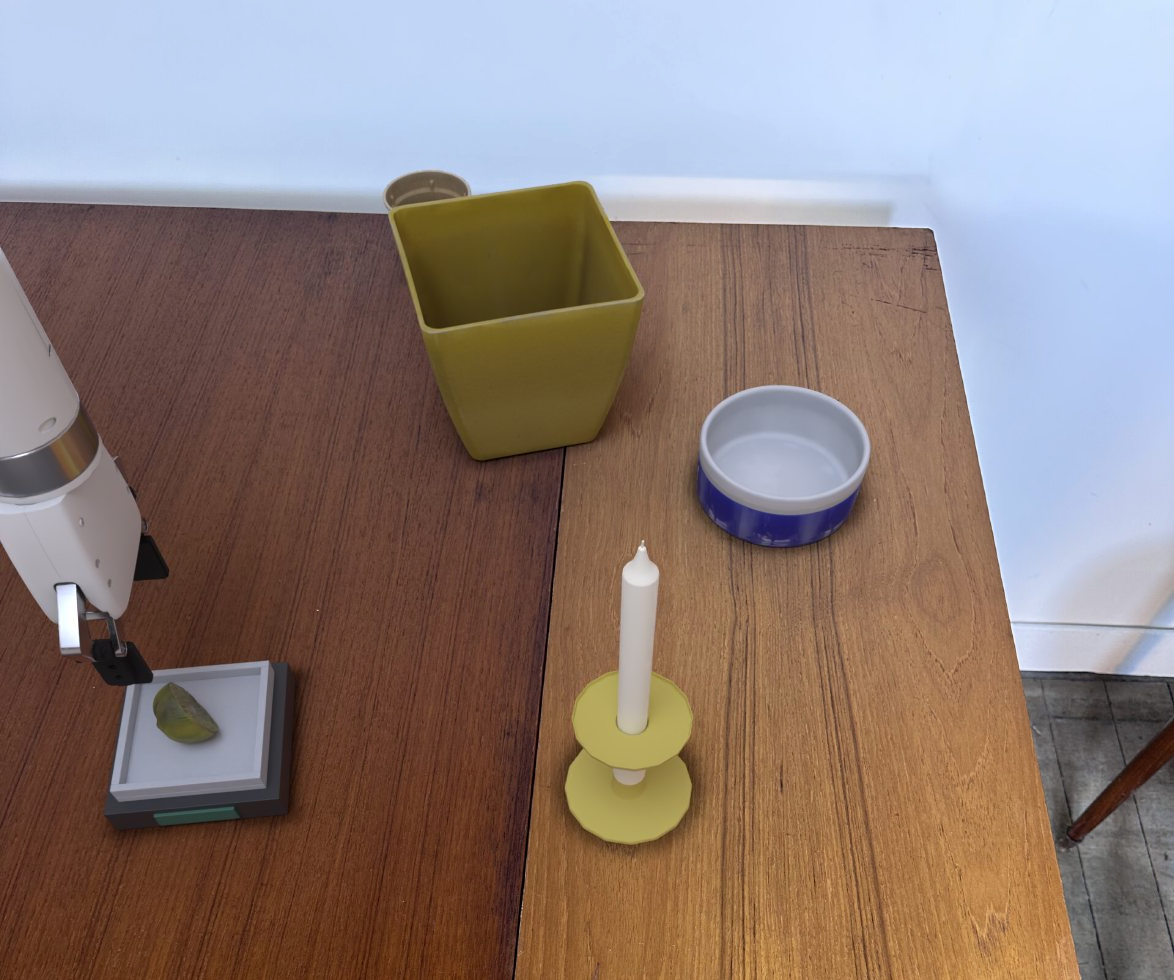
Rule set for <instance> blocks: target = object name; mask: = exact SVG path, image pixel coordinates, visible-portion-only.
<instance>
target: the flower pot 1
mask: <svg viewBox="0 0 1174 980" xmlns="http://www.w3.org/2000/svg"><path fill="white" fill-rule="evenodd" d="M465 196H472V189H471V185H470V184H469V182H468V181H466V179H464V178H463V177H461V176H460V175H458V174H455V173H453V172H448V171H445V170H441V169H421V170H414V171H410V172H407V173H404V174H402V175H400V176H398V177H396V178H394V179H393V180H391V181H390V182H389V183H388V184H386V187H384V189H383V192H382V202H383V204H384V206H385V208H386V210H388V212H389V211H390V210H391V209H393V208H395V207H398V206H402V205H408V204H416V203H423V202H430V201H437V200H444V199H451V198H458V197H465Z"/></svg>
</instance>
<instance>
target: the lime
mask: <svg viewBox="0 0 1174 980" xmlns="http://www.w3.org/2000/svg"><path fill="white" fill-rule="evenodd" d="M153 712H154V715H155V717H156V719H157V723H156V725H157V727H158V729H160V730H161V731H162V732H163V733H164V734H165V735H166V736H167V737H168V738H170V739H171V740H173V741H175V742H179V743H190V742H199V741H203V740H206V739H208V738H210V737H212V736H213V735H214V734H215V733H216V732H217V731H218V730H219V729H218V728H219V727H218V725H217V723H216V722H215V721H214V720H213V719H212V717H211V716H210V715H209V714H208V712H207V711H206V709H205V708H204V707H203V706H201V705H200V704H199V703H198V702H197V701H196V699H195V698H194V697H193V696H192V695H191V694H190V693H188V691H185V689H184V688H182V687H180V686H178V685H177V684H174V683H172V682H169V683H168V684H166V685H165V686H164V687H163V688H162V689H160V690H159V691H158V693H157V694H156V695H155V698H154V701H153Z"/></svg>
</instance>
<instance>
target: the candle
mask: <svg viewBox="0 0 1174 980" xmlns="http://www.w3.org/2000/svg"><path fill="white" fill-rule="evenodd" d="M640 543H641V544H640V545H639V546H638V548H637V550H636V554H635V555H634V558H633V559H632V560H630V561H628V562H627V563H626V564H625V565H624V566H623V568H622V573H621V594H620V595H621V596H620V624H619V625H620V626H619V627H620V628H619V652H618V654H619V655H618V670H613V671H607V672H606V673H604V674H602V675H600V676H599V677H597V678H595V679H594V680H591V681H590V682H588V683H587V684H586V686H585V687H584V688H583V689H582V691H581V692H580V693H579V694H578V696H577V697H576V699H575V701H574V706H573V710H572V714H571V724H572V728H573V731H574V736H575V739H576V742H578V744H579V745H580V746H581V747H582V749H581V751H580V752H579V753H578V755H577V756H576V757H575V759H574V760H573V761H572V763H571V764H570V765H569V766H568V770H567V775H566V779H565V783H564V793H565V798H566V802H567V805H568V810H569V812H570V813H571V815H572V816H573V817H574V818H575V819H576V820H577V822H578V823H579V824H580V826H581V828H583V829H584V830H586V831H587V832H589V833H591V834H592V835H594V836H595V837H597V838H599V839H601V840H603V841H604V842H610V843H615V844H622V845H628V846H634V845H638V844H642V843H647V842H654V841H657V840H659V838H661V837H663V836H664V835H667V834H668V833H670V832H671V831H672V830H674V829H675V828H677V827H678V825H679V824H680V823H681V821H682V819H683V818H684V816H685V815H686V814H687V812H688V810H689V809H690V804H691V797H692V790H693V783H692V781H691V777H690V774H689V771H688V769H687V764H686V763H685V762H684V760H682V758H681V757H680V756H679V754H680V753H681V752H682V750H683V748H684V747H685V745H686V744H687V743H688V741H689V740H690V739H691V734H692V729H693V728H692V727H693V720H694V714H693V711H692V708H691V705H690V701H689V699H688V696H687V695H686V694H685V693H684V692H683V691H682V690H681V688H679V686H677V684H676V683H675V682H674V681H673V680H670V679H668V678H666V677H665V676H663V675H660V674H659V673H658V672H654V671H652V666H653V654H654V643H655V634H656V633H655V632H656V631H655V630H656V621H657V619H656V618H657V609H658V608H657V607H658V595H659V584H660V583H659V582H660V571H659V567H658V565H656V563H654V562H653V561H651V559H650V558H649V555H648V551H647V547H646V546H645V545H644V544H645V540H644V539H642V540H641V542H640Z"/></svg>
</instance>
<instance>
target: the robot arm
mask: <svg viewBox="0 0 1174 980" xmlns="http://www.w3.org/2000/svg"><path fill="white" fill-rule="evenodd" d="M8 260H9V259H8V258H7V256H6V254H5V253H4V251H3V249H2V247H1V246H0V543H1V545H2V547H3V548H4V550H5V552H6V554H7V556H8V558H9V559H10V561H11V563H12V565H13V566H14V568H15V570H16V572H17V573H18V575H19V576H20V578H21V580H22V581H23V583H24V584H25V586H26V587H27V589H28V591H29V592H30V594H31V596H32V597H33V598H34V600H35V601H36V603H37V604H38V606H39V607H40V609H41V610H42V612H43V613H44V614H45V615H46V617H47V618H48V619H49V620H50V621H51V622H52V623H53V624H56V625H57V624H58V639H59V640H58V641H59V651H60V654H61V656H62V657H63V658H66V659H69V660H71V661H74V662H75V663H77V664H85V663H86V664H88V663H91V664H92V666H93V667H94V669H95V670H96V671H97V673H98V674H99V675H100V677H101V678H102V680H103V681H104V683H105V684H106V685H107V686H112V687H115V686H116V687H125V686H130V685H133V684H146V683H151V682H152V681H153V673H152V671H153V670H151V667H150V666H149V665H148V663H147V662H146V660H145V658H144V657H143V655H142V654H141V652H140V650H139V649H138V647H137V646H136V644H135V642H134V641H127V639H126V634H125V629H124V625H123V620H122V616H123V614H124V613H125V612H126V610H127V608H128V606H129V602H130V597H131V593H132V589H133V588H132V587H133V583H134V582H140V581H154V580H155V581H156V580H166V579H167V578H169V576H170V568H169V566H168V564H167V562H166V560H165V559H164V556H163V555H162V553H161V551H160V549H159V547H158V545H157V543H156V542H155V540H154V538H153V536H152V534H148V533H149V522H148V521H147V518H146V517H145V516H143V515H141V511H140V509H139V507H138V503H137V499H138V498H137V494H136V491H135V490H134V488H133V487H132V486H131V485H129V484H128V483H129V479H128V477H127V476H128V475H127V473H126V470H125V466H124V462H123V459H122V457H121V456H120V455H114V456H111V454H110V452H109V451H108V450H107V447H106V446H105V445H104V443H103V439H102V437H101V435H100V433H99V431H98V429H97V427H96V426H95V424H94V422H93V420H92V418H91V416H90V414H89V413H88V411H87V409H86V407H85V405H84V403H83V401H82V399H81V397H80V395H79V394H78V392H77V390H76V388H75V386H74V384H73V383H72V380H71V378H70V376H69V374H68V373H67V371H66V368H65V367H64V365H63V363H62V361H61V359H60V357H59V356H58V354H57V351H56V350H55V347H54V346H53V344H52V342H51V341H50V338H49V337H48V335H47V333H46V331H45V328H44V327H43V325H42V323H41V321H40V320H39V318H38V315H37V313H36V312H35V310H34V308H33V306H32V304H31V302H30V301H29V298H28V297H27V295H26V293H25V291H24V289H23V287H22V285H21V283H20V282H19V279H18V278H17V275H16V274H15V272H14V269H13V268H12V266H11V264H10V263H9V261H8ZM128 485H129V486H128ZM86 599H87V601H88V602H89V604H91V605H92V606H94V607H95V608H87V605H86V603H87V602H86ZM99 620H100V621H102V620H103V621H105V622H106V626H107V631H108V635H109V636H108V637H109V638H95V639H92V636H91V631H90V626H89V623H88V621H90V622H91V621H99Z"/></svg>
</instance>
